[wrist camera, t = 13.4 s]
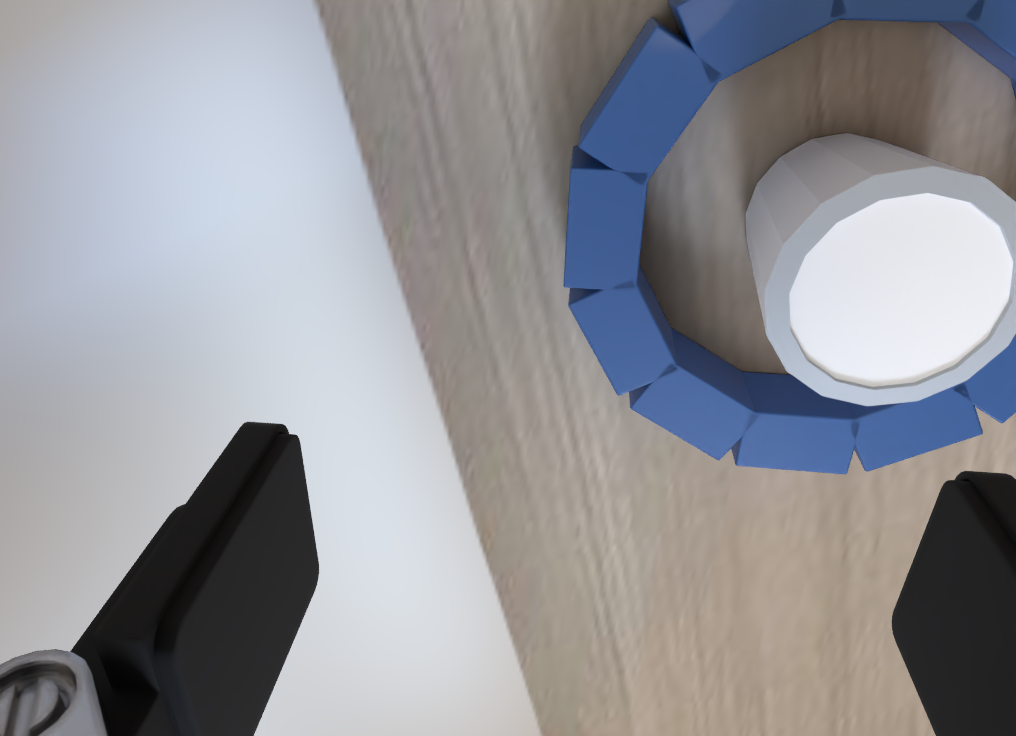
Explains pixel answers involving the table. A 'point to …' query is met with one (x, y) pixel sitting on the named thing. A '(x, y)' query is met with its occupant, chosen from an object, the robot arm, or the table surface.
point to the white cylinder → (881, 269)
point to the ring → (629, 297)
